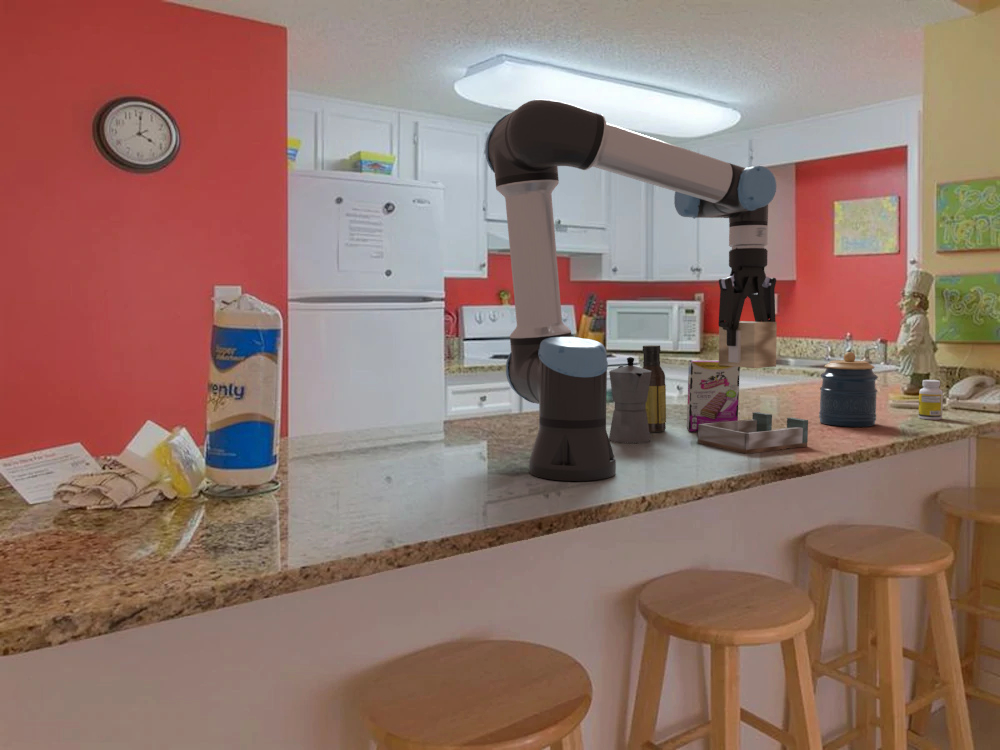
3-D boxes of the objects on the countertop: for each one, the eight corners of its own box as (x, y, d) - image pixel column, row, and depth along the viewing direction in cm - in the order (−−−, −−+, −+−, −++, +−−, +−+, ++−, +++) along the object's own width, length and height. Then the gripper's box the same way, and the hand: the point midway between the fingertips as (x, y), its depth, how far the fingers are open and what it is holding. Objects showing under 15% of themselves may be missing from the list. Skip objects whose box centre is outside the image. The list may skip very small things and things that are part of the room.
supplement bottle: (923, 416, 213) (925, 379, 212) (945, 418, 209) (947, 380, 208) (914, 418, 210) (916, 380, 209) (936, 420, 205) (938, 381, 204)
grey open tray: (746, 453, 161) (746, 426, 161) (697, 442, 173) (698, 417, 173) (807, 446, 169) (808, 420, 168) (756, 436, 181) (757, 412, 181)
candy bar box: (688, 432, 188) (690, 361, 186) (686, 429, 193) (687, 359, 191) (738, 433, 186) (740, 361, 185) (734, 429, 191) (736, 359, 190)
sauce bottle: (659, 428, 194) (661, 344, 192) (670, 432, 188) (671, 345, 186) (634, 429, 193) (635, 344, 191) (643, 433, 186) (644, 345, 185)
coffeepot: (660, 444, 171) (661, 359, 170) (616, 445, 170) (617, 359, 169) (638, 433, 187) (639, 354, 185) (598, 434, 185) (598, 354, 184)
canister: (808, 420, 206) (810, 350, 204) (854, 419, 208) (857, 350, 207) (838, 428, 193) (841, 353, 191) (887, 426, 195) (890, 353, 194)
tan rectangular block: (753, 368, 163) (754, 322, 162) (718, 364, 171) (719, 321, 171) (776, 366, 165) (776, 322, 164) (740, 363, 174) (740, 321, 173)
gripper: (725, 246, 158) (724, 365, 161) (796, 247, 167) (794, 360, 169) (699, 248, 165) (698, 362, 167) (768, 249, 174) (767, 358, 176)
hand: (746, 361), depth 168 cm, fingers closed on tan rectangular block, 6 cm apart
